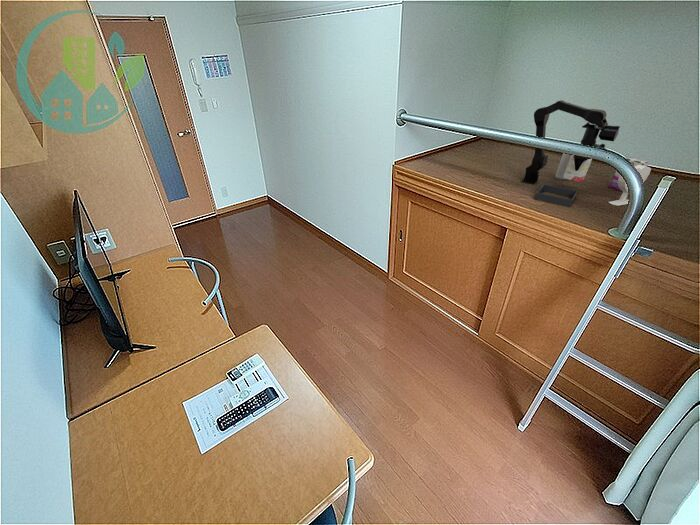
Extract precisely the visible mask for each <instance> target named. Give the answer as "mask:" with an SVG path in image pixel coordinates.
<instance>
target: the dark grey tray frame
mask: <svg viewBox="0 0 700 525" xmlns="http://www.w3.org/2000/svg"><path fill="white" fill-rule="evenodd" d="M543 192H547V193H551V194H552V193H553V194H557V195H563V196H568V197H572V198H571V199H570V198H565V197H560V196H556V195H551V194H547V193H543ZM578 192H579V191H578V189H573V188H567V187H561V186H556V185H552V184H546V183H544V184H543V185H542V186H541V187H540V188H539V189H538V190H537V191H536V193H535V196H534V200H537V201H542V202H546V203H549V204H555V205H560V206H564V207H568V208H570V207H571V206H572V204H573V202H574V200H575V198H576V197H577V194H578Z"/></svg>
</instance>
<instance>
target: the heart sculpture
mask: <svg viewBox="0 0 700 525" xmlns="http://www.w3.org/2000/svg"><path fill="white" fill-rule="evenodd" d="M635 168H636V169H637V171H638V172H639V173H640V175H641V177H642V179H643V183H644V182H645V181H646V180H647V179H648V177H649V175H650V173H651V172H652V168H651V167H649V166H648V167H647V166H643V165H637V166H635ZM618 186H619V188H620V189H621V190H622V191H621V192H622V193H621V195H620V197H619V199H615V200H612V201H608V203H609V204H611V205H612V206H617V207H619V206H624V205H629V204H628V201H629V200H630V199H628V198H627V197H628V195H629V193H628V187H627V184H626V182H625V180H624V179H623V177H622V176H621V175H620V176H619V179H618Z"/></svg>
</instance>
